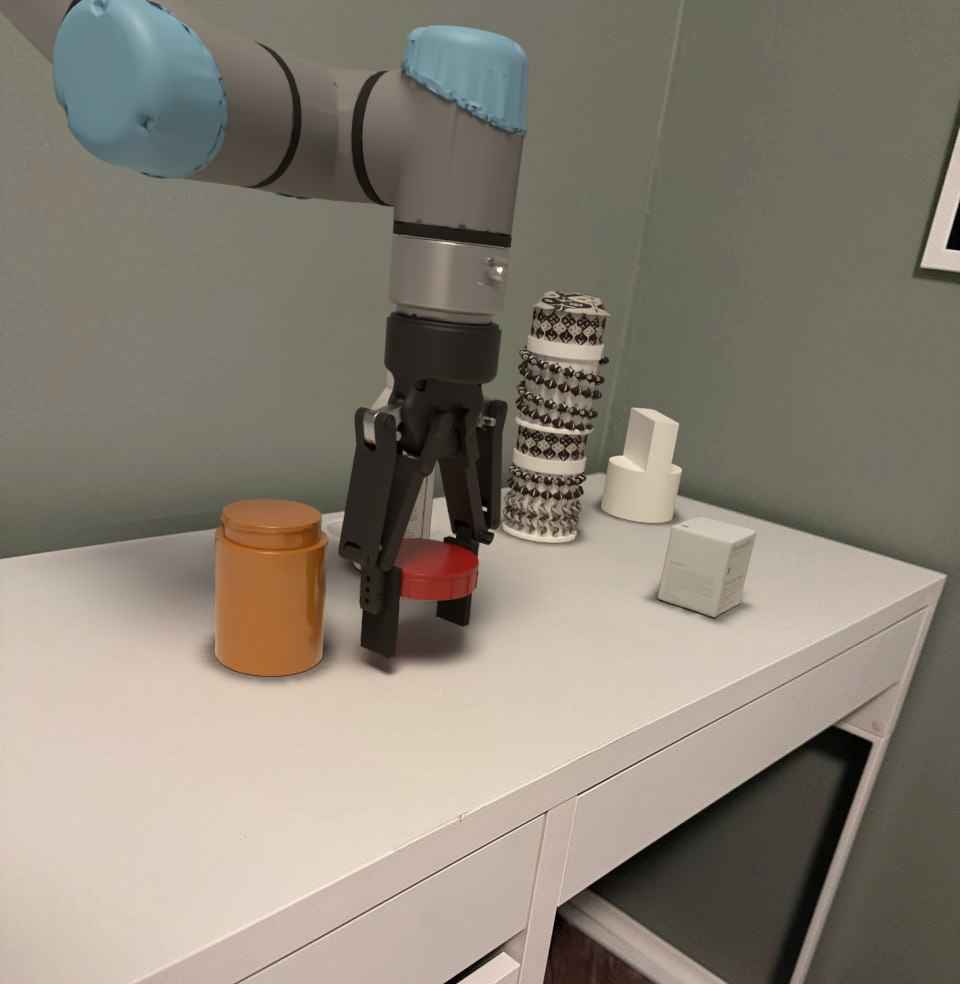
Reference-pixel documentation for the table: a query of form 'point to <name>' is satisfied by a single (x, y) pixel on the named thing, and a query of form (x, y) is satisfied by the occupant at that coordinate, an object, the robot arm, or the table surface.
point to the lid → (436, 570)
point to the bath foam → (424, 502)
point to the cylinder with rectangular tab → (644, 470)
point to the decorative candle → (555, 416)
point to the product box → (706, 565)
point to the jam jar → (270, 587)
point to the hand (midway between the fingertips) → (416, 634)
